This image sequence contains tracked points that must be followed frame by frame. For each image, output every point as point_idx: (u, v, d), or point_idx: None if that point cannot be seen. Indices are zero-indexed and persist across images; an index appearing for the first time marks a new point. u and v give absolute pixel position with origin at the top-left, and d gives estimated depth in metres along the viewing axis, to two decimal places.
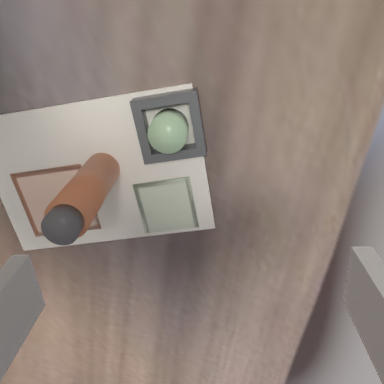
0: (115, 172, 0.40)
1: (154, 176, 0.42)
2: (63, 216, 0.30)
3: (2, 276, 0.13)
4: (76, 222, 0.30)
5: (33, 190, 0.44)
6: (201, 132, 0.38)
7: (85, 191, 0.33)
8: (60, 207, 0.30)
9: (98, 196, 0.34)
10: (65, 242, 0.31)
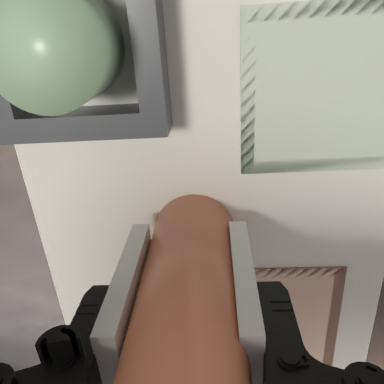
0: (188, 215, 0.15)
1: (226, 113, 0.16)
2: None
3: (134, 240, 0.15)
4: None
5: None
6: None
7: (121, 381, 0.09)
8: None
9: (170, 328, 0.10)
10: None
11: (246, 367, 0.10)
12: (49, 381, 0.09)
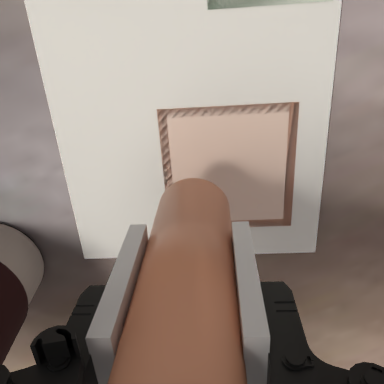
0: (188, 195, 0.17)
1: None
2: None
3: (131, 241, 0.15)
4: None
5: None
6: None
7: (131, 319, 0.11)
8: None
9: (172, 278, 0.12)
10: None
11: (236, 312, 0.12)
12: (45, 382, 0.09)
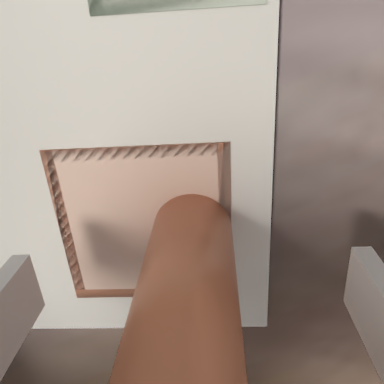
0: (185, 215, 0.16)
1: None
2: None
3: (2, 276, 0.13)
4: None
5: (113, 267, 0.20)
6: None
7: (116, 378, 0.09)
8: None
9: (165, 325, 0.10)
10: None
11: (240, 362, 0.10)
12: None
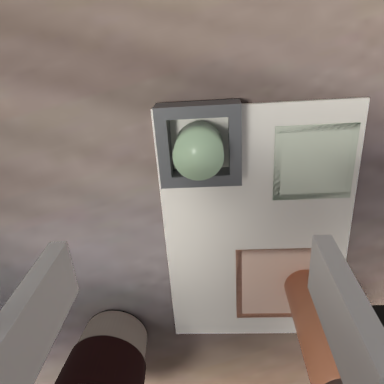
0: None
1: (266, 172, 0.32)
2: None
3: (44, 261, 0.14)
4: None
5: (259, 302, 0.39)
6: (207, 107, 0.28)
7: (314, 352, 0.28)
8: None
9: None
10: None
11: None
12: None
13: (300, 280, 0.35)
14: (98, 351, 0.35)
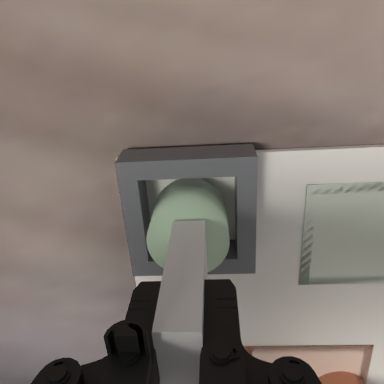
0: None
1: (291, 247, 0.22)
2: None
3: (177, 237, 0.15)
4: None
5: None
6: (202, 162, 0.17)
7: None
8: None
9: None
10: None
11: None
12: (115, 374, 0.10)
13: None
14: None
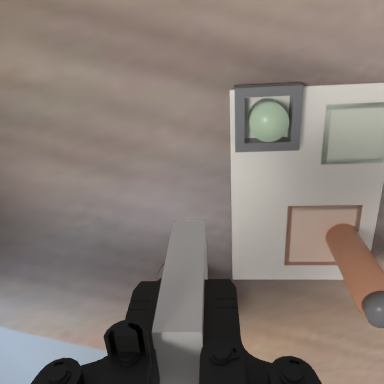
0: (348, 232, 0.43)
1: (317, 141, 0.41)
2: (373, 309, 0.33)
3: (177, 237, 0.15)
4: (382, 300, 0.33)
5: (304, 252, 0.47)
6: (277, 88, 0.37)
7: (356, 276, 0.37)
8: (364, 306, 0.35)
9: (365, 264, 0.38)
10: None
11: None
12: (115, 374, 0.10)
13: (340, 230, 0.44)
14: None
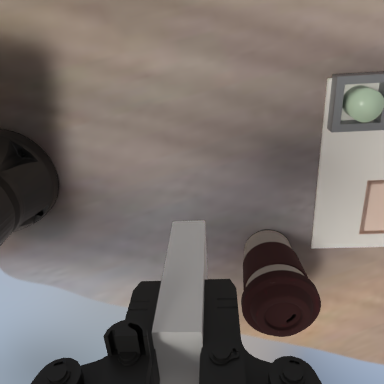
0: None
1: None
2: None
3: (177, 237, 0.15)
4: None
5: (378, 221, 0.54)
6: (374, 76, 0.43)
7: None
8: None
9: None
10: None
11: None
12: (115, 374, 0.10)
13: None
14: (275, 249, 0.50)
